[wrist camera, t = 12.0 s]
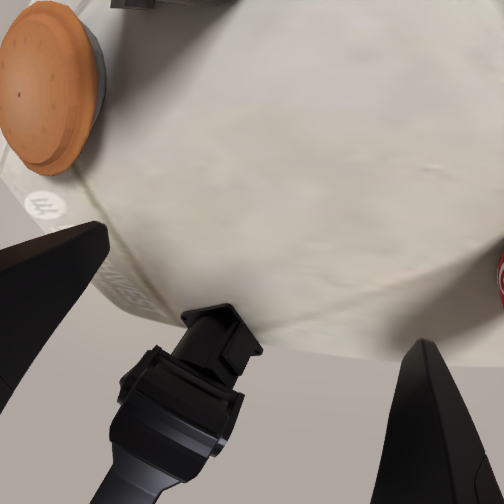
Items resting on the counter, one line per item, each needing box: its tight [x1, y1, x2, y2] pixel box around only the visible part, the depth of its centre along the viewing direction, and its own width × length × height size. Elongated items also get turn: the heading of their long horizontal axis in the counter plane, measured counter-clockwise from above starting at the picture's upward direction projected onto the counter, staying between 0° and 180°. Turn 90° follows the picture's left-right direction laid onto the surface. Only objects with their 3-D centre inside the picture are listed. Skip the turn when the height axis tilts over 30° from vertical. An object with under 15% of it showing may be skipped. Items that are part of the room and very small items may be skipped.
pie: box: [0, 1, 106, 176], centre depth 19 cm, size 16×16×5 cm
